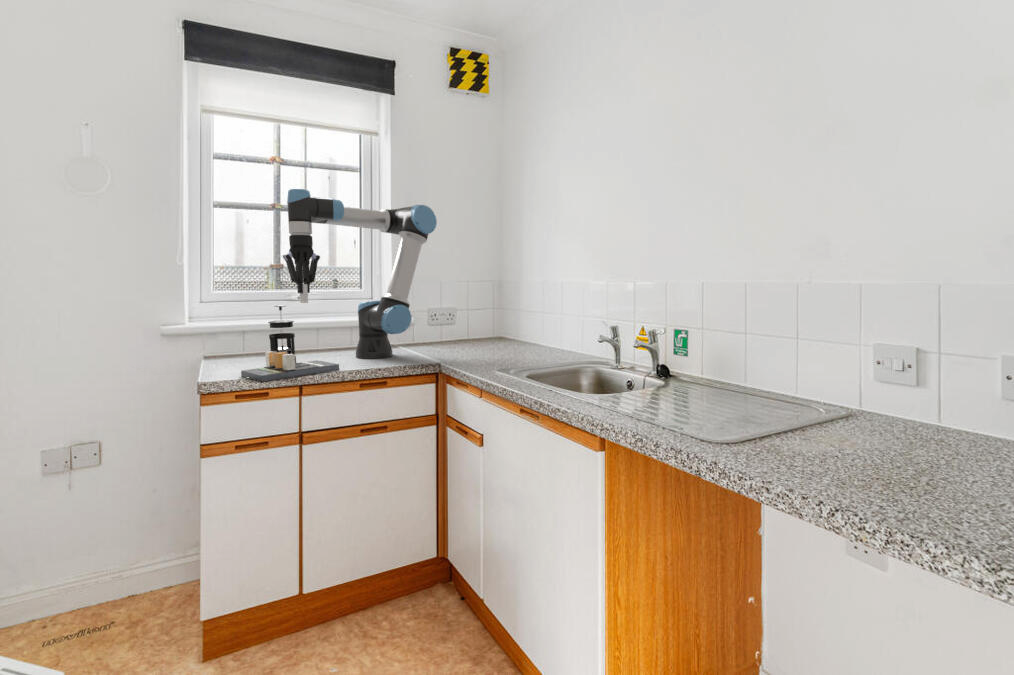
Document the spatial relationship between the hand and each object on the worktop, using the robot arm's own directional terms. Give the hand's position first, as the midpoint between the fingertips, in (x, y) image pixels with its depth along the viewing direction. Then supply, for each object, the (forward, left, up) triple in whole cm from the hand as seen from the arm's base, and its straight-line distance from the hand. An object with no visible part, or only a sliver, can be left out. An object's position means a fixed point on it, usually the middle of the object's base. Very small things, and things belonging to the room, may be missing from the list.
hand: (304, 302), depth 186 cm
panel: (+6, 0, -24) cm, 25 cm away
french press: (0, -18, -25) cm, 30 cm away
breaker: (+10, 0, -22) cm, 24 cm away
